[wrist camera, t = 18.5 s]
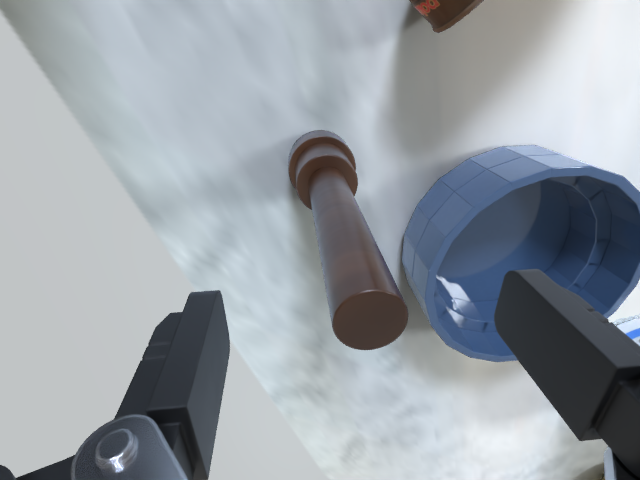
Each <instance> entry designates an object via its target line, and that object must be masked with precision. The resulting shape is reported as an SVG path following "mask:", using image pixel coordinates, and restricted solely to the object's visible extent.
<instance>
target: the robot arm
mask: <svg viewBox="0 0 640 480" xmlns="http://www.w3.org/2000/svg"><path fill="white" fill-rule="evenodd" d="M494 322H495V327H496V330H497V332H498V334H499V335H500V337H501V338H502V340H503V341H504V342H505V343H506V345H507V346H508V347H509V349H510V350H511V351H512V353H513V354H514V355H515V357H516V358H517V359H518V361H519V362H520V363H521V365H522V366H523V367H524V368H525V370H526V371H527V372H528V374H529V375H530V376H531V378H532V379H533V380H534V382H535V383H536V384H537V386H538V387H539V388H540V389H541V391H542V392H543V393H544V395H545V396H546V397H547V399H548V400H549V401H550V403H551V404H552V405H553V407H554V408H555V409H556V410H557V412H558V413H559V414H560V416H561V417H562V418H563V420H564V421H565V422H566V424H567V425H568V426H569V428H570V429H571V430H572V432H573V433H574V434H575V435H576V437H577V438H578V439H579V441H585V440H594V439H603V440H604V441H605V442H606V444H607V445H608V447H607V448H606V450H605V452H604V470H605V480H640V346H639V345H638V344H637V343H636V342H634V341H633V340H632V339H631V338H630V337H628V336H627V335H626V334H625V333H624V332H622V331H621V330H620V329H619V328H617V327H616V326H615V325H614V324H613V323H609V322H608V319H607V318H605V317H604V316H603V315H602V314H601V313H599V312H598V311H595V308H593V307H592V306H591V305H590V304H589V303H587V302H586V301H585V300H584V299H582V298H581V297H580V296H579V295H577V294H575V293H573V292H571V291H569V290H567V289H565V288H563V287H561V286H560V285H558V284H556V283H555V282H554V281H553V280H552V279H550V278H549V277H548V276H547V275H546V274H545V273H543V272H542V271H541V270H539V269H526V270H512V271H508V272H507V273H506V274H505V276H504V279H503V283H502V287H501V290H500V294H499V298H498V302H497V305H496V309H495V313H494ZM229 352H230V340H229V332H228V326H227V321H226V315H225V310H224V304H223V299H222V294H221V292H220V291H219V290H218V291H204V292H191V293H190V294H189V296H188V299H187V302H186V304H185V307H184V310H183V312H177V313H170V314H169V315H168V316H167V317H166V318H165V319H164V320H163V321H162V322H161V323H160V324H159V325H158V326H157V327H156V328H155V330H154V332H153V335H152V337H151V339H150V342H149V346H148V347H147V348H146V350H145V352H144V355H143V357H142V358H143V359H142V361H140V364H139V366H138V368H137V370H136V372H135V374H134V377H133V379H132V381H131V383H130V385H129V388H128V390H127V392H126V394H125V397H124V399H123V401H122V403H121V405H120V408H119V410H118V412H117V414H116V416H115V418H114V420H112V421H110V422H108V423H106V424H104V425H103V426H101V427H100V428H98V429H97V430H96V431H95V432H94V433H92V434H91V435H90V436H89V437H88V438H87V439H86V440H85V441H84V443H83V444H82V445H81V446H80V448H79V449H78V451H77V453H76V454H75V455H73V456H72V457H69V458H67V459H65V460H62V461H60V462H57V463H54V464H52V465H49V466H46V467H44V468H41V469H39V470H36V471H33V472H31V473H28V474H26V475H23V476H20V477H18V478H15V477H14V475H13V474H12V473H11V471H10V470H9V469H8V468H6V467H5V466H2V465H0V480H208V477H209V471H210V465H211V459H212V453H213V448H214V441H215V436H216V430H217V424H218V418H219V413H220V406H221V401H222V395H223V389H224V383H225V377H226V372H227V366H228V359H229Z"/></svg>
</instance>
